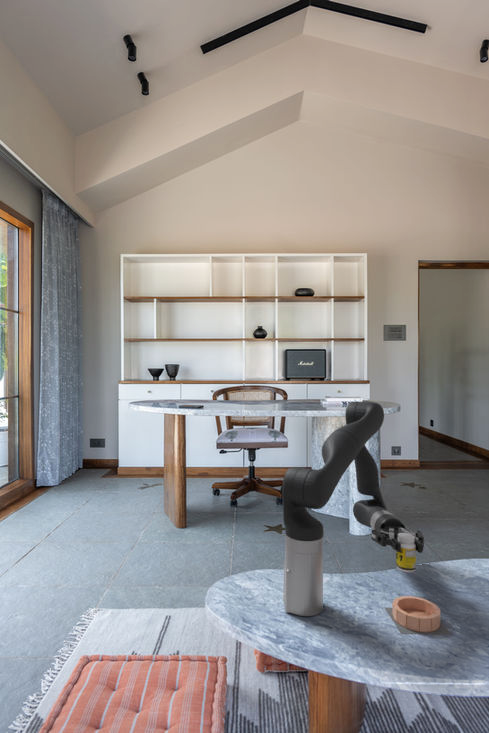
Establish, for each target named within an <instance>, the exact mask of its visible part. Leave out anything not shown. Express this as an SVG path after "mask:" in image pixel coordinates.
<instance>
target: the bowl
mask: <svg viewBox="0 0 489 733" xmlns="http://www.w3.org/2000/svg"><path fill="white" fill-rule="evenodd" d="M391 608H392V614H393V618H394V620H395V621H396V622H397V623H398V624H399V625H401V626H402V627H404V628H406V629H409V630H412V631H416V632H424V633H428V632H434V631H436V630H438V629H439V628H440V621H441V620H442V619H441V609H440V608H439V606H438V605H437V604H436V603H434V602H432V601H429V600H428V599H426V598H422V597H419V596H418V597H417V596H414V595H413V596H412V595H410V596H409V595H403V596H402V595H401V596H398V597H395V598H394V600H393V601H392V606H391ZM441 622H442V621H441Z"/></svg>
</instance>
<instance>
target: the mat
mask: <svg viewBox="0 0 489 733" xmlns="http://www.w3.org/2000/svg"><path fill="white" fill-rule="evenodd" d="M384 610H385V611H386V613H387V614H388V616H389V617H390V619H391V620H392V622H393V624H394V625H395V627H396V628H397V630H398V632H400V634H402V635H452V633H451V631H450V630H449V629H448V628H447V627H446V625H445V624H444V623H443V621H440V628H439V629H438V630H436V631H434V632H428V633H424V632H416V631H412V630H409V629H406V628H404V627H402V626H401V625H399V624H398V623H397V622H396V621H395V620H394V618H393V614H392V607H384Z"/></svg>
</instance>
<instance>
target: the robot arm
mask: <svg viewBox="0 0 489 733" xmlns="http://www.w3.org/2000/svg"><path fill="white" fill-rule="evenodd" d="M344 416H345V423H346V424H345V425H343V426H340V427H338V428H337V429H334V430H333V431H332V432H331V433H330V435H329V436H328V437H326V439H325V440H324V442H323V443H322V446H321V456H322V459H323V463H324V465H323V466H322V468H319V469H313V468H307V467H300V466H299V467H298V466H292V467H289V468H288V469H287V470H286V472H285V473H284V476H283V479H282V487H281V488H282V514H283V515H282V516H283V517H282V519H283V525H284V528H285V532H284V533H285V534H284V535H285V536H284V537H285V538H284V540H285V541H284V543H285V544H284V545H285V546H284V562H283V594H282V596H283V600H282V601H283V605H284V609H285V613H286V614H287V613H290V614H293V615H296V616H300V617H312V616H317V615H319V614H320V613H322V611H323V609H324V608H323V607H324V606H323V605H324V525H323V523H322V522H321V521H320V520H318V519H317V518H316V517H314V516H313V515H312V514H310V512H309V511H308V510H307V509H313V510H319V509H323V508H324V507H326V505H327V504H328V503H329V501H330V499H331V497H332V496H333V494H334V492H335V489H336V488H337V486H338V484H339V482H340V481H341V479H342V477H343V475H345V472H346V471H347V470H348V468H349V467H350V465H351V464H352V463H353V462H354V465H355V477H356V489H357V492H358V493H359V494H361V495H363V496H368V497H369V496H370V497H372V498H371V499H370V498H369V499H362V500H357V501H355V503H354V504H353V507H352V512H353V516H354V518H355V519H356V521H357V522H358V523H359V524H361V525H363V526H366V527H368V528H371V540H372V541H373V542H375V543H377V544H378V545H380V546H382V547H387V546H388V547H389V548H390V549H391V548H392V549H393V550H394V551H395V552H396V551H397V552H401V544H400V543H399V542H398V534H399V533H408V534H411V535H413V536H414V544H415V545H416V552H417V553H420V554H422V553H423V552H424V547H425V545H424V544H425V542H424V541H425V537H424V535H423V533H422V531H420V530H416V531H415V532H411V531H410V530H409V529H407V528H406V526H405V525H404V523H403V522H402V521H401V520H400V519H399V518H397V517H396V515H394V514H392V513H391V512H389V511H388V509H387V506H386V503H385V501H384V498H383V495H382V492H381V488H380V477H379V469H378V468H379V467H378V465H377V463H376V460H375V458H373V456H372V454H371V453H370V452H369V450H368V448H367V446H366V445H365V444H367V442H368V441H369V440H370V439H372V437H373V436H374V435H375V434H376V433H378V432H379V430H380V429H381V427H382V425H383V423H384V420H385V410H384V408H383V406H382V405H381V404H379V403H378V402H374V401H351V402H348V404H347V406H346V408H345V414H344Z"/></svg>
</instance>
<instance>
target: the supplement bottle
mask: <svg viewBox="0 0 489 733" xmlns="http://www.w3.org/2000/svg"><path fill="white" fill-rule="evenodd" d="M398 542H399V543H400V544H401V552H397V551H396V550H395V567H396V569H398V570H399V571H401V572H405V573H414V572H415V571H416V569H417V566H416V565H417V562H416V561H417V553H416V552H417V551H416V545H415V544H414V536H413V535H411V534H408V533H399V534H398Z"/></svg>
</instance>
